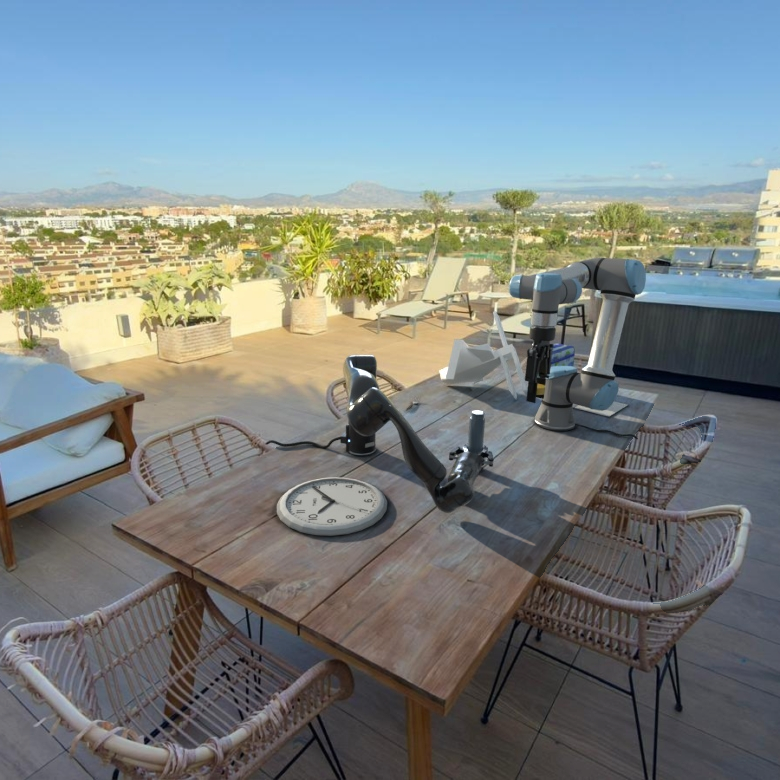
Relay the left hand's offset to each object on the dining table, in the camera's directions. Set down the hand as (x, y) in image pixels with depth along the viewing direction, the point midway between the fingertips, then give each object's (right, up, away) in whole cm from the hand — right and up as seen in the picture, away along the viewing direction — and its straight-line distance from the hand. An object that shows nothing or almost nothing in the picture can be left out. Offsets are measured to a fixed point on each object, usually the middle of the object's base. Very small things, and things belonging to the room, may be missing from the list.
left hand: (476, 447), depth 166 cm
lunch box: (+50, +19, +85) cm, 101 cm away
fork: (-18, +11, +56) cm, 60 cm away
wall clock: (-43, -13, -24) cm, 51 cm away
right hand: (+18, +15, -3) cm, 24 cm away
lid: (+18, +19, -4) cm, 27 cm away
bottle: (-1, -7, -1) cm, 7 cm away
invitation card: (+64, +11, +60) cm, 88 cm away
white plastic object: (+14, +17, +77) cm, 80 cm away
